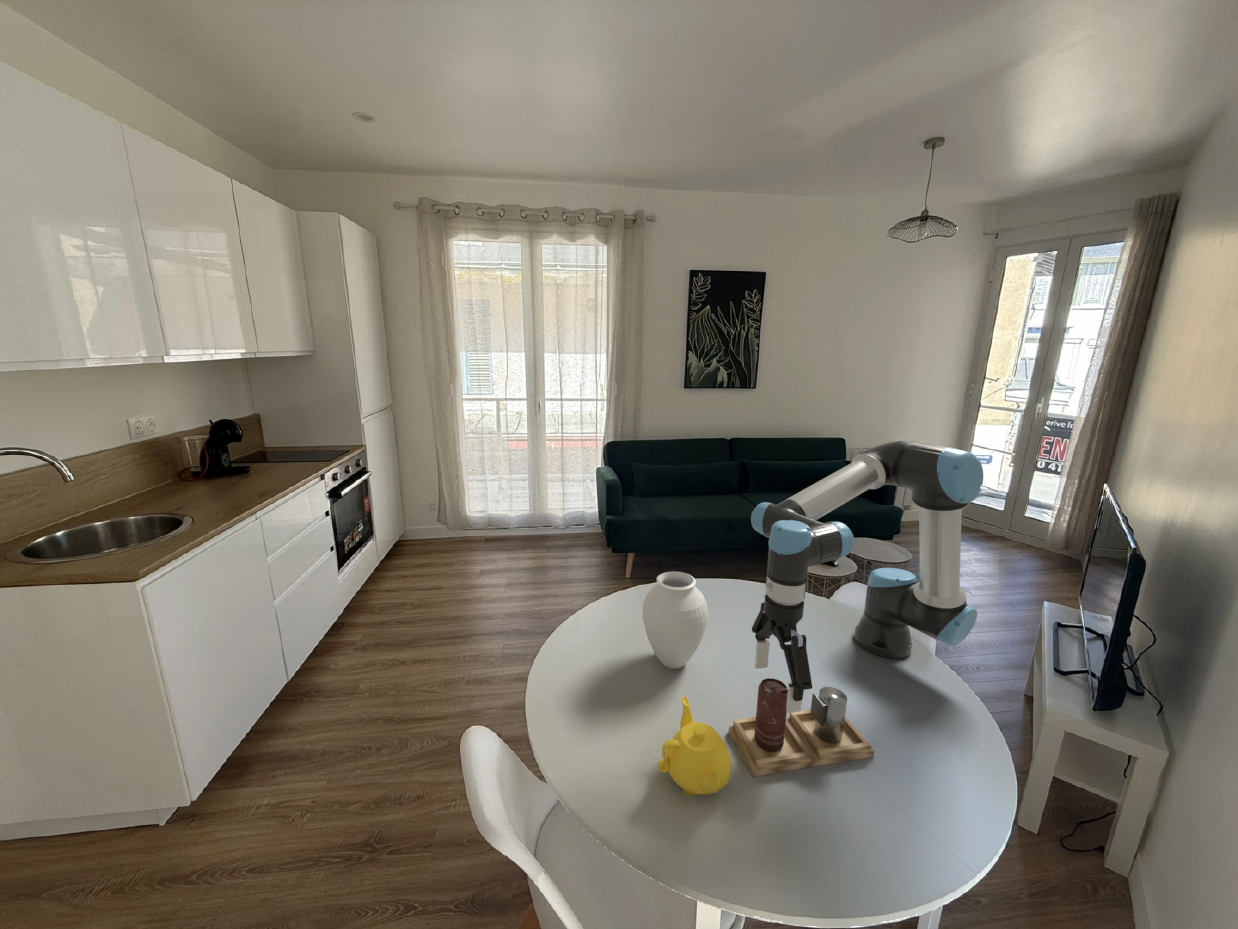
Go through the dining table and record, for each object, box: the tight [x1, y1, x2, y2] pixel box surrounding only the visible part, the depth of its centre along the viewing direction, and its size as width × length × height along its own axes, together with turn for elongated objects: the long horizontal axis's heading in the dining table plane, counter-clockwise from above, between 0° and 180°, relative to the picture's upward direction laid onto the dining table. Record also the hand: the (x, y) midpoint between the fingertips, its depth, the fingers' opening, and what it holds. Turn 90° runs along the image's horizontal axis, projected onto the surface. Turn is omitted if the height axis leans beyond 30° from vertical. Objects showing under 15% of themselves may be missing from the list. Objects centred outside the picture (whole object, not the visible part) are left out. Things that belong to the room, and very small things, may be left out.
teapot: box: [657, 695, 732, 797], centre depth 96 cm, size 20×15×12 cm
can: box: [754, 677, 788, 752], centre depth 103 cm, size 6×6×14 cm
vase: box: [642, 570, 709, 670], centre depth 131 cm, size 18×18×25 cm
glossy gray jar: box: [810, 686, 848, 744], centre depth 105 cm, size 6×6×10 cm
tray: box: [728, 708, 875, 777], centre depth 105 cm, size 28×12×3 cm, turn 101°
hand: (776, 687), depth 101 cm, fingers open, 13 cm apart
